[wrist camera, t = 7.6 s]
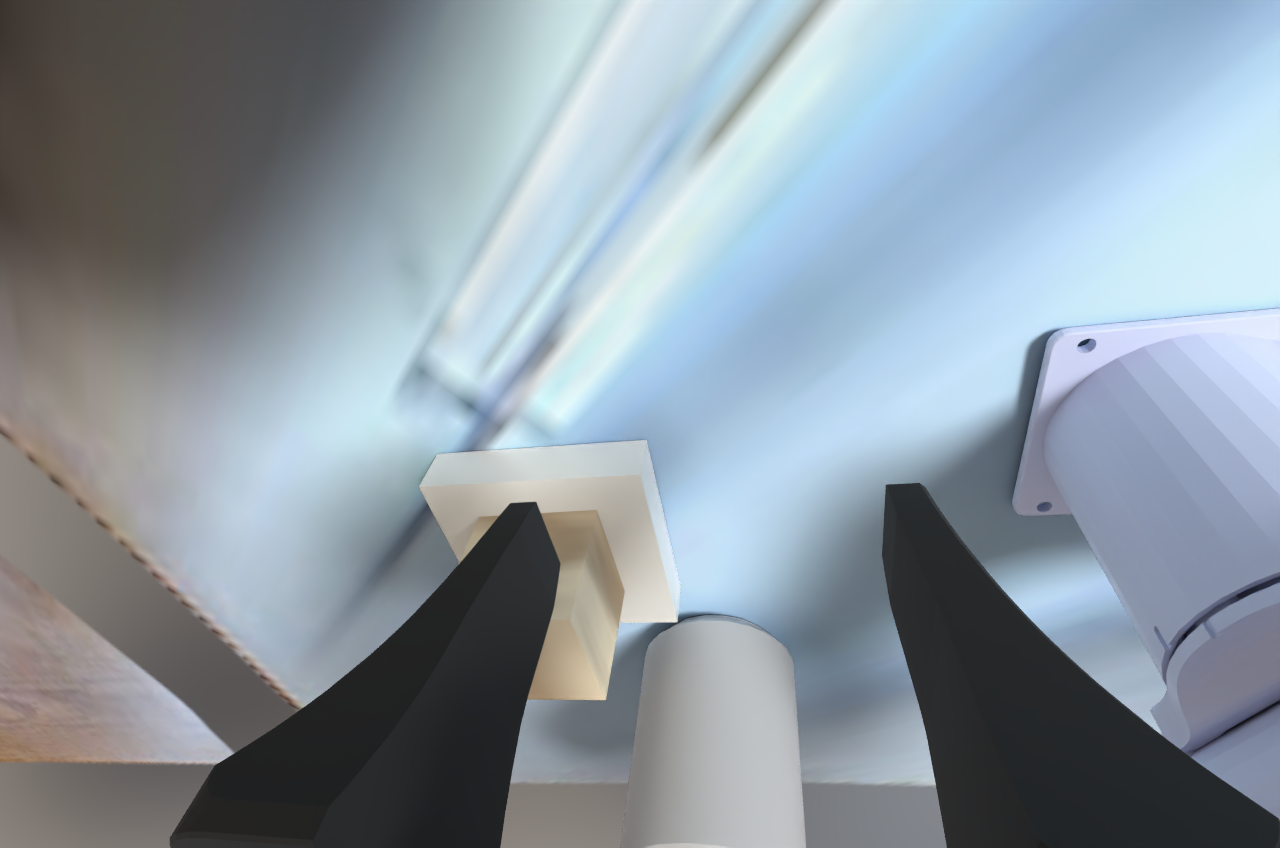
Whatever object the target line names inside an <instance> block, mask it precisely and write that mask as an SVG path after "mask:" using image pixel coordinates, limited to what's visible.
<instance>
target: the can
mask: <svg viewBox="0 0 1280 848" xmlns="http://www.w3.org/2000/svg"><path fill="white" fill-rule="evenodd" d="M620 848H806V839H805V824H804V811H803V795H802V780H801V765H800V750H799V735H798V720H797V706H796V691H795V676H794V661H793V659H792V657H791V655H790V654H789V652H788V650H787V649H786V647H785V646H784V645H783V644H781V643H780V642H779V641H777V640H776V639H775V638H774V637H772V636H771V635H770V634H768V633H767V632H766V631H764V630H763V629H762V628H760V627H759V626H757V625H755V624H753V623H750V622H748V621H746V620H743V619H740V618H735V617H730V616H725V615H703V616H697V617H692V618H687V619H685V620H683V621H681V622H679V623H677V624H674V625H673V626H672V627H671V628H670V629H667V630H665V631H663V632H661V633H659V634H658V635H657V636H656V637H655V638H654V639H653V640H652V641H651V642H650V643H649V646H648V649H647V652H646V655H645V662H644V669H643V677H642V685H641V692H640V700H639V707H638V715H637V723H636V730H635V738H634V745H633V753H632V760H631V768H630V776H629V783H628V791H627V799H626V806H625V814H624V821H623V829H622V836H621V844H620Z"/></svg>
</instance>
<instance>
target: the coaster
mask: <svg viewBox="0 0 1280 848" xmlns="http://www.w3.org/2000/svg"><path fill="white" fill-rule="evenodd" d="M419 488H420V490H421V492H422V494H423V496H424V498H425V499H426V501H427V503H428V505H429V507H430V509H431V511H432V512H433V514H434V516H435V518H436V520H437V522H438V524H439V526H440V527H441V529H442V531H443V533H444V535H445V537H446V539H447V540H448V542H449V544H450V546H451V548H452V550H453V552H454V553H455V555H456V557H457V559H458V561H459V562H460V560H461V557H462V555H463V553H464V550H465V548H466V546H467V544H468V541H469V539H470V537H471V534H472V532H473V530H474V528H475V525H476V523H477V521H478V518H479V517H483V516H500V514H501V513H502V512H503V511H504V510H505V508H506V507H507V506H508V505H509V504H510V503H519V502H537V505H538V508H539V510H540V513H552V512H569V511H586V510H597V512H598V514H599V517H600V520H601V523H602V526H603V529H604V532H605V535H606V538H607V541H608V543H609V546H610V549H611V552H612V555H613V558H614V561H615V564H616V567H617V569H618V572H619V575H620V578H621V581H622V584H623V587H624V590H625V593H624V599H623V605H622V611H621V616H620V622H619V623H644V622H678V612H679V601H680V590H681V584H680V580H679V576H678V572H677V567H676V563H675V559H674V555H673V550H672V546H671V542H670V538H669V533H668V529H667V525H666V521H665V516H664V512H663V508H662V503H661V499H660V495H659V491H658V486H657V482H656V478H655V474H654V469H653V465H652V461H651V457H650V452H649V448H648V444H647V440H636V441H621V442H606V443H591V444H576V445H562V446H547V447H532V448H517V449H503V450H488V451H473V452H458V453H443V454H437V455H436V457H435V459H434V461H433V463H432V464H431V466H430V468H429V470H428V471H427V473H426V475H425V477H424V478H423V480H422V482H421V484H420V486H419Z"/></svg>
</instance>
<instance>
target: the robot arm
mask: <svg viewBox="0 0 1280 848" xmlns="http://www.w3.org/2000/svg"><path fill="white" fill-rule="evenodd" d="M1085 339H1090V341H1089V343H1087V344H1086V345H1084V346H1080V347H1077V346H1078V344H1079V343H1080V342H1081V341H1083V340H1085ZM1043 502H1045V503H1044V504H1040V503H1043ZM1012 505H1013V508H1014V510H1015V511H1016V513H1017V514H1019V515H1022V516H1041V515H1068V514H1073V516H1074V518H1075V520H1076V521H1077V523H1078V525H1079V527H1080V529H1081V531H1082V532H1083V534H1084V536H1085V538H1086V540H1087V542H1088V543H1089V545H1090V547H1091V549H1092V551H1093V553H1094V554H1095V556H1096V558H1097V560H1098V562H1099V563H1100V565H1101V567H1102V569H1103V571H1104V573H1105V574H1106V576H1107V578H1108V580H1109V582H1110V584H1111V585H1112V587H1113V589H1114V591H1115V593H1116V595H1117V596H1118V598H1119V600H1120V602H1121V604H1122V605H1123V607H1124V609H1125V611H1126V613H1127V615H1128V616H1129V618H1130V620H1131V622H1132V624H1133V626H1134V627H1135V629H1136V631H1137V633H1138V635H1139V637H1140V638H1141V640H1142V642H1143V644H1144V646H1145V648H1146V649H1147V651H1148V653H1149V655H1150V657H1151V658H1152V660H1153V662H1154V664H1155V666H1156V668H1157V669H1158V671H1159V673H1160V675H1161V677H1162V679H1163V680H1164V682H1165V684H1166V686H1167V691H1166V694H1165V696H1164V697H1163V698H1162V700H1161V701H1160V702H1159V703H1157V704H1156V705H1155V706H1154V707H1152V709H1151V710H1150V711H1151V713H1152V715H1153V717H1154V719H1155V721H1156V723H1157V725H1158V727H1159V729H1160V731H1161V733H1162V735H1163V736H1162V735H1161V734H1159V733H1158V732H1157V731H1155V730H1154V729H1153V728H1152V727H1150V726H1149V725H1148V724H1147V723H1146V722H1144V721H1143V720H1142V719H1141V718H1140V717H1138V716H1137V715H1136V714H1135V713H1133V712H1132V711H1131V710H1130V709H1129V708H1127V707H1126V706H1125V705H1124V704H1122V703H1121V702H1120V701H1119V700H1118V699H1116V698H1115V697H1114V696H1113V695H1111V694H1110V693H1109V692H1108V691H1107V690H1105V689H1104V688H1103V687H1102V686H1100V685H1099V684H1098V683H1097V682H1096V681H1095V680H1094V679H1092V678H1091V677H1090V676H1089V675H1088V674H1087V673H1086V672H1085V671H1084V670H1082V669H1081V668H1080V667H1079V666H1078V665H1077V664H1076V663H1075V662H1074V661H1072V660H1071V659H1070V658H1069V657H1068V656H1067V655H1066V654H1065V653H1064V652H1063V651H1062V650H1061V649H1060V648H1059V647H1058V646H1057V645H1055V644H1054V643H1053V642H1052V641H1051V640H1050V639H1049V638H1048V637H1047V636H1046V635H1045V634H1044V633H1043V632H1042V631H1041V630H1040V629H1039V628H1038V627H1037V626H1036V625H1035V624H1034V623H1033V622H1032V621H1031V620H1030V619H1029V618H1028V617H1027V616H1026V615H1025V613H1024V612H1023V611H1022V610H1021V609H1020V608H1019V607H1018V606H1017V605H1016V604H1015V603H1014V602H1013V600H1012V599H1011V598H1010V597H1009V596H1008V595H1007V594H1006V593H1005V592H1004V591H1003V590H1002V588H1001V587H1000V586H999V585H998V584H997V583H996V581H995V580H994V579H993V578H992V577H991V576H990V574H989V573H988V572H987V571H986V570H985V568H984V567H983V566H982V565H981V564H980V562H979V561H978V560H977V559H976V557H975V556H974V555H973V554H972V553H971V551H970V550H969V549H968V548H967V546H966V545H965V544H964V542H963V541H962V540H961V539H960V537H959V536H958V535H957V533H956V532H955V530H954V529H953V528H952V526H951V525H950V524H949V522H948V521H947V520H946V518H945V517H944V515H943V514H942V512H941V511H940V510H939V508H938V507H937V505H936V504H935V502H934V501H933V499H932V497H931V496H930V494H929V493H928V491H927V489H926V488H925V487H924V486H923V485H921V484H920V483H911V484H890V485H886V494H885V512H884V530H883V549H882V557H883V564H884V570H885V576H886V582H887V588H888V594H889V600H890V605H891V609H892V612H893V616H894V619H895V623H896V626H897V630H898V633H899V637H900V641H901V644H902V648H903V651H904V654H905V658H906V661H907V665H908V668H909V672H910V675H911V679H912V682H913V686H914V689H915V693H916V696H917V700H918V703H919V707H920V710H921V714H922V718H923V722H924V726H925V730H926V735H927V739H928V745H929V750H930V755H931V761H932V766H933V772H934V777H935V782H936V788H937V793H938V798H939V805H940V810H941V815H942V822H943V827H944V833H945V838H946V844H947V848H1280V308H1277V309H1266V310H1256V311H1245V312H1234V313H1223V314H1212V315H1201V316H1191V317H1180V318H1169V319H1158V320H1147V321H1136V322H1126V323H1115V324H1104V325H1093V326H1082V327H1071V328H1065V329H1061V330H1059V331H1057V332H1055V333H1053V334H1052V335H1051V336H1050V337H1049V339H1048V341H1047V343H1046V348H1045V353H1044V357H1043V362H1042V366H1041V371H1040V375H1039V380H1038V385H1037V389H1036V394H1035V398H1034V403H1033V408H1032V412H1031V417H1030V421H1029V426H1028V431H1027V435H1026V440H1025V444H1024V449H1023V454H1022V458H1021V463H1020V467H1019V472H1018V477H1017V481H1016V486H1015V490H1014V495H1013V499H1012ZM560 565H561V563H560V561H559V558H558V556H557V553H556V551H555V548H554V545H553V543H552V540H551V538H550V535H549V533H548V530H547V528H546V525H545V523H544V520H543V518H542V515H541V513H540V510H539V508H538V505H537V502H519V503H510V504H509V505H508V506H507V507H506V508H505V510H504V511H503V512H502V513H501V514H500V516H499V517H498V518H497V519H496V520H495V522H494V523H493V524H492V525H491V526H490V528H489V529H488V530H487V531H486V532H485V534H484V535H483V536H482V537H481V539H480V540H479V541H478V542H477V543H476V545H475V546H474V547H473V548H472V549H471V551H470V552H469V553H468V554H467V555H466V557H465V558H464V559H463V560H462V561H461V562H460V564H459V565H458V566H457V567H456V568H455V569H454V571H453V572H452V573H451V574H450V575H449V576H448V578H447V579H446V580H445V581H444V582H443V583H442V584H441V585H440V586H439V587H438V589H437V590H436V591H435V592H434V593H433V594H432V595H431V596H430V597H429V598H428V599H427V600H426V601H425V603H424V604H423V605H422V606H421V607H420V608H419V609H418V610H417V611H416V612H415V613H414V614H413V615H412V616H411V617H410V618H409V619H408V620H407V621H406V622H405V623H404V624H403V625H402V626H401V627H400V628H399V629H398V630H397V631H396V632H395V633H394V634H393V635H392V636H391V637H389V638H388V639H387V640H386V641H385V642H384V643H383V644H382V645H381V646H380V647H379V648H377V649H376V650H375V651H374V652H373V653H372V654H371V655H370V656H368V657H367V658H366V659H365V660H364V661H362V662H361V663H360V664H359V665H357V666H356V667H355V668H354V669H353V670H351V671H350V672H349V673H348V674H346V675H345V676H344V677H343V678H342V679H340V680H339V681H338V682H337V683H335V684H334V685H333V686H332V687H331V688H329V689H328V690H327V691H325V692H324V693H323V694H321V695H320V696H319V697H317V698H316V699H315V700H313V701H312V702H311V703H309V704H308V705H307V706H305V707H304V708H302V709H301V710H300V711H298V712H297V713H295V714H294V715H292V716H291V717H290V718H288V719H287V720H285V721H284V722H283V723H281V724H280V725H278V726H277V727H275V728H274V729H272V730H271V731H269V732H268V733H266V734H264V735H263V736H261V737H260V738H258V739H257V740H255V741H253V742H252V743H250V744H249V745H247V746H246V747H244V748H242V749H241V750H239V751H238V752H236V753H234V754H233V755H231V756H230V757H228V758H227V759H225V760H223V761H222V762H220V763H218V764H217V765H215V766H214V768H213V770H212V771H211V772H210V774H209V776H208V777H207V779H206V780H205V782H204V784H203V785H202V787H201V789H200V790H199V792H198V793H197V795H196V797H195V798H194V800H193V801H192V803H191V805H190V806H189V808H188V810H187V811H186V813H185V814H184V816H183V818H182V819H181V821H180V823H179V824H178V826H177V827H176V829H175V831H174V832H173V834H172V836H171V837H170V847H171V848H500V845H501V838H502V831H503V824H504V817H505V810H506V804H507V798H508V792H509V786H510V780H511V774H512V768H513V763H514V758H515V752H516V747H517V742H518V736H519V731H520V726H521V721H522V717H523V713H524V709H525V705H526V702H527V698H528V695H529V692H530V688H531V685H532V681H533V678H534V675H535V671H536V668H537V665H538V661H539V658H540V654H541V651H542V648H543V644H544V641H545V637H546V634H547V630H548V627H549V623H550V620H551V616H552V613H553V609H554V604H555V598H556V592H557V586H558V579H559V572H560Z"/></svg>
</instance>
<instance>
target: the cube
mask: <svg viewBox="0 0 1280 848" xmlns="http://www.w3.org/2000/svg"><path fill="white" fill-rule="evenodd" d="M541 515H542V518H543V520H544V523H545V525H546V528H547V530H548V533H549V535H550V538H551V540H552V543H553V545H554V548H555V551H556V553H557V556H558V558H559V561H560V563H561V565H560V572H559V579H558V586H557V592H556V598H555V604H554V609H553V613H552V616H551V620H550V623H549V627H548V630H547V634H546V637H545V641H544V644H543V648H542V651H541V654H540V658H539V661H538V665H537V668H536V671H535V675H534V678H533V681H532V685H531V688H530V692H529V695H528V698H527V699H543V700H606V697H607V691H608V685H609V679H610V674H611V668H612V662H613V656H614V651H615V645H616V639H617V633H618V628H619V622H620V616H621V611H622V605H623V599H624V593H625V590H624V587H623V584H622V581H621V578H620V575H619V572H618V569H617V567H616V564H615V561H614V558H613V555H612V552H611V549H610V546H609V543H608V541H607V538H606V535H605V532H604V529H603V526H602V523H601V520H600V517H599V514H598V512H597V510H586V511H569V512H552V513H541ZM498 517H499V516H483V517H479V518H478V521H477V523H476V525H475V528H474V530H473V532H472V534H471V537H470V539H469V541H468V544H467V546H466V548H465V550H464V553H463V555H462V557H461V560H460V562H461V561H462V560H463V559H464V558H465V557H466V555H467V554H468V553H469V552H470V551H471V549H472V548H473V547H474V546H475V545H476V543H477V542H478V541H479V540H480V539H481V537H482V536H483V535H484V534H485V532H486V531H487V530H488V529H489V528H490V526H491V525H492V524H493V523H494V522H495V520H496V519H497V518H498ZM460 562H459V564H460ZM459 564H458V565H459Z"/></svg>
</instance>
